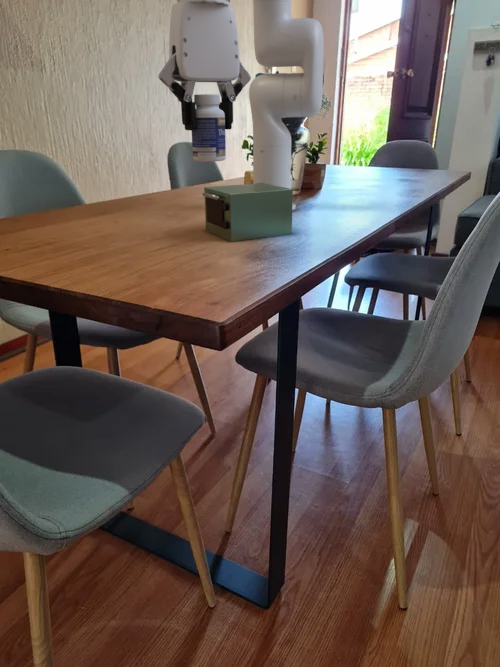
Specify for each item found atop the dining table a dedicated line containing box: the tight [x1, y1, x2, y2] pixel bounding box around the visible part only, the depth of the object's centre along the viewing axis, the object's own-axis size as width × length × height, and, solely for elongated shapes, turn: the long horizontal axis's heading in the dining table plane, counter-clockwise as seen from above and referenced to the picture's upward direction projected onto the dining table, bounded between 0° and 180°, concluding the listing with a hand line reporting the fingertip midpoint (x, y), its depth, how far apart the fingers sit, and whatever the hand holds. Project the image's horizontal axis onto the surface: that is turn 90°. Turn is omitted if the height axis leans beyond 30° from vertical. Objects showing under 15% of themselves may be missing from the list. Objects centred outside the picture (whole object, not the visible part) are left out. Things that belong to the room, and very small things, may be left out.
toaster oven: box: [202, 183, 294, 243], centre depth 105 cm, size 12×15×9 cm
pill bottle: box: [191, 93, 227, 162], centre depth 81 cm, size 5×5×10 cm
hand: (208, 128), depth 81 cm, fingers closed on pill bottle, 5 cm apart
